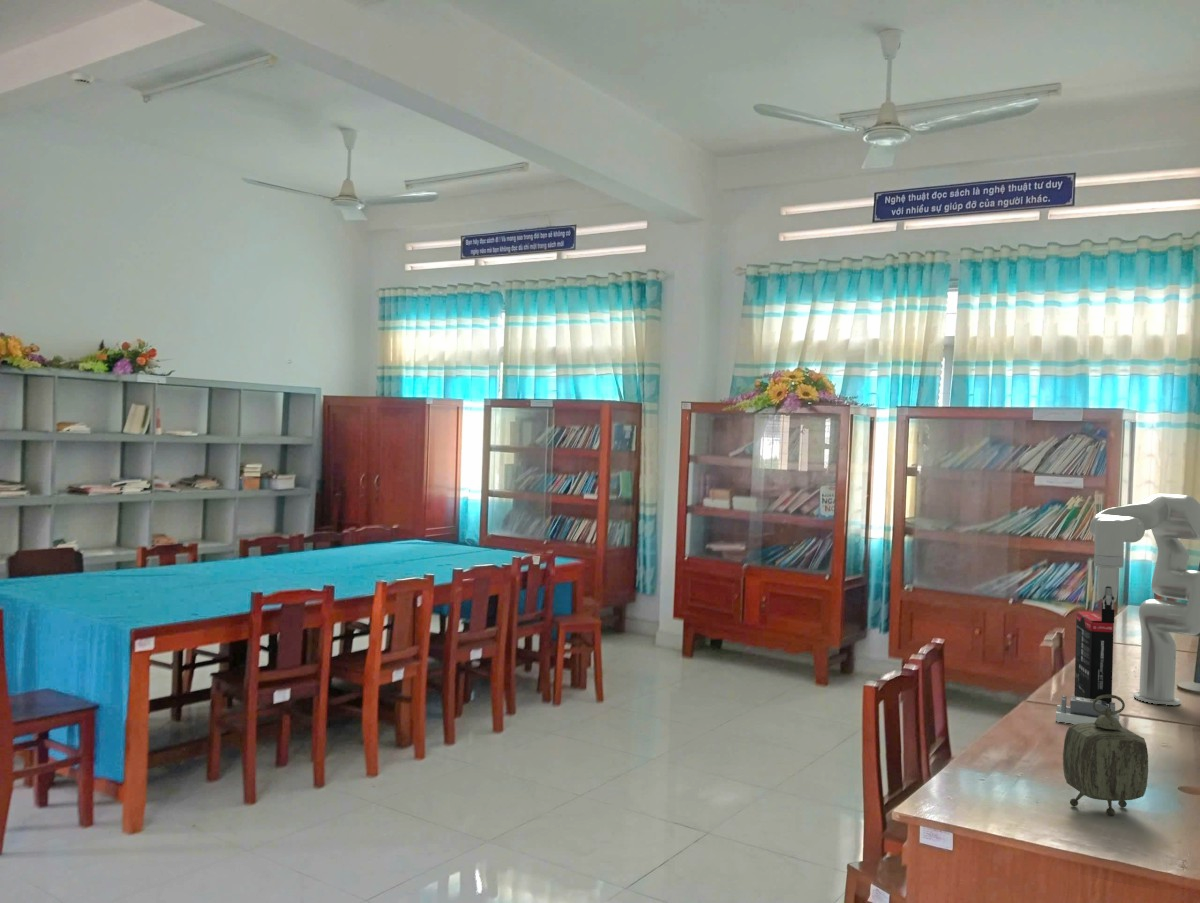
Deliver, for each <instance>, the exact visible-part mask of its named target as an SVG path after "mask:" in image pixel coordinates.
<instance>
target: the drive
mask: <svg viewBox="0 0 1200 903" xmlns="http://www.w3.org/2000/svg"><path fill="white" fill-rule="evenodd" d="M1093 701H1094V699H1088V698H1081V697H1075V696H1071V698H1070V705H1069V707H1070V714H1075V715H1082V716H1089V717H1095V718H1098V717H1099V716H1101V715H1105V714H1101V713H1098V712H1096V711H1095V710H1094V709H1093V707H1092V704H1093ZM1106 707H1107V701H1102V700H1098V701H1097V702H1096V703H1095V708H1096V709H1098V710H1101V711H1106Z"/></svg>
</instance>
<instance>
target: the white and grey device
mask: <svg viewBox="0 0 1200 903" xmlns="http://www.w3.org/2000/svg"><path fill="white" fill-rule="evenodd" d="M1067 698H1068V697H1067V695H1061V705H1060V704H1057V705H1056V711H1055V722H1056V721H1057V722H1056V723H1059V722H1065V723H1064V724H1066V723H1072V724H1079V723H1095V721H1096V719H1097V718H1095V717H1089V716H1082V715H1075V714H1070V706H1067ZM1110 708H1111V711H1116V702H1113V701H1112V702H1110ZM1111 716H1113V717H1115V718H1116V719H1117V720H1118V721H1119V722H1120V723H1121V721H1120V713H1118V714H1114V715H1111ZM1072 724H1071V725H1072Z"/></svg>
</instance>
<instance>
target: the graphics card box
mask: <svg viewBox="0 0 1200 903" xmlns="http://www.w3.org/2000/svg"><path fill="white" fill-rule="evenodd" d="M1075 621H1076V623H1075V651H1074V652H1075V654H1074V656H1075V658H1074V659H1075V660H1074V662H1075V663H1074V696H1073V697H1081V698H1088V699H1096V698H1097V697H1099V696H1101V695H1113V665H1114V664H1113V663H1114V662H1113V661H1114V627H1115V626H1114V624H1115V623H1113V624H1112V623H1102V615H1100V614H1098V613H1096V612H1092V611H1080V610H1076V620H1075ZM1099 700H1102V701H1107V707H1106V708H1110V702H1113V701H1112V700H1113V698H1102V699H1099Z"/></svg>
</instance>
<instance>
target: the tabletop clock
mask: <svg viewBox="0 0 1200 903" xmlns="http://www.w3.org/2000/svg"><path fill="white" fill-rule="evenodd" d="M1102 698H1112V699H1116V700H1117V701H1119V702H1120V703H1121V705H1122V706H1121V707H1120V708H1119V709H1117V710H1115V711H1111V708H1106V711H1101V710H1098V709H1096V708H1095V703H1096V702H1097V701H1098V700H1099V699H1102ZM1092 707H1093V709H1094V710H1095V711H1096V712H1098V713H1101V714H1105V715H1101V716H1099V717H1098V718H1097V719H1096V721H1095V723H1079V724H1074V725H1072V724H1071V725H1070V726H1068V729H1067V731H1066V733H1065V736H1064V742H1063V748H1062V760H1063V761H1062V766H1063V768H1062V770H1063V774H1064V779H1065V782H1066V784H1068V785H1069V786H1071V787H1072V788H1074V789H1075V790H1076V791H1078V792H1079V793H1078V794H1077V796H1076V798H1071V799H1070V800H1069V804H1070V805H1071V807H1077V806H1078V805H1079V800H1080V799H1081V798H1083V797H1084V796H1085V797H1088V798H1090V799H1093V800H1099V801H1100V800H1101V801H1107V805H1108V806H1107V807H1108V808H1106V811H1105V812H1106V814H1107V815H1108V816H1109V817H1114V816H1115V814H1116V811H1115V809H1114V808H1112V807H1113V805H1112V804H1113V803H1112V802H1118V803H1117V804H1118V806H1119V807H1120V808H1126V807H1127V804H1128V803H1127V801H1132V800H1133V801H1134V800H1136V799H1137V800H1138V799H1140V798H1142V797H1144V796H1145V793H1146V791H1147V786H1148V776H1149V753H1148V747H1147V746H1148V745H1147V742H1146V740H1145V738H1144V737H1142V736H1140V735H1139V734H1137V733H1135V732H1132V731H1131V730H1128V729H1127V728H1125V727H1122V725H1121V721H1120V720H1119V721H1120V722H1119V721H1118V720H1117V719H1116V718H1115V717H1113V716H1111V715H1114V714H1121V712H1123V711H1124V709H1125V707H1126V704H1125V702H1124V700H1123V699H1122V698H1121V697H1119V696H1117V695H1114V694H1112V695H1101V696H1099V697H1097V698H1096V699H1094V701H1093V704H1092Z"/></svg>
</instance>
